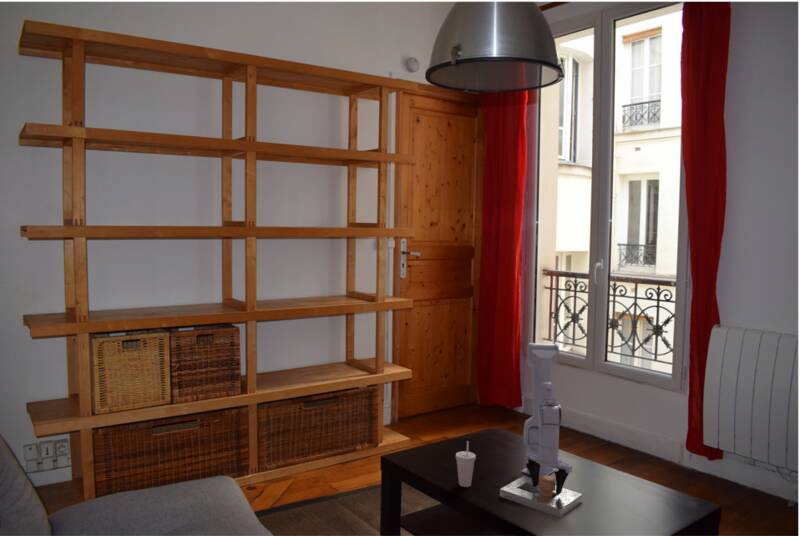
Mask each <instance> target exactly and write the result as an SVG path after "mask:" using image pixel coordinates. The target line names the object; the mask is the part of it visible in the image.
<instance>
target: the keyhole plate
mask: <svg viewBox="0 0 800 536" xmlns="http://www.w3.org/2000/svg"><path fill="white" fill-rule="evenodd" d="M499 497H500V498H502V499H506V500H508V501H512V502H515V503H517V504H520V505H522V506H525V507H529V508H531V509H534V510H538V511H539V512H543V513H545V514H549V515H552V516H555V517H558V518H561V517H563V516H565V515H567V513H569V512H570V511H572V510H573V509H574V508H576V507H577V506H578V505H580V504H581V503H583V493H580V492H578V491H574V490H571V489H567V488H564V487H563V488H562V492H561V493H560V494H559V495H558V494H556V485H555V491H552V498H549V497H546V496H543V495H542V490H540V489H539V484H538V486H536V487H533V483H532V478H531V476H530V477H528V476H526V475H523V476H521V477H518V478H517V479H515V480H514V481H512V482H510V483H508V484H506V485H505V486H503V487H501V488H499Z"/></svg>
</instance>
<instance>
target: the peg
mask: <svg viewBox="0 0 800 536" xmlns="http://www.w3.org/2000/svg"><path fill="white" fill-rule="evenodd" d="M555 486H556V477H555V476H551V475H548V476H547V475H543V476H540V477H539V489H540V490H542V495H543V496H546V497H549V498H552V491H555Z"/></svg>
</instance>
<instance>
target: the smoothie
mask: <svg viewBox="0 0 800 536" xmlns="http://www.w3.org/2000/svg"><path fill="white" fill-rule="evenodd" d="M469 443H470V442H469V441H468V440H467V441H466V450H465V451H463V450H462V451H458V452H456V453H455V459H456V467H457V477H458V478H457V479H458V485H459V486H460V487H464V488H469V487H471V485H472V480H473V479H472V478H473V473H474V467H475V460H476V459H477V457H476V454H475V453H474V452H471V451H469V450H470V449H469V445H470V444H469Z"/></svg>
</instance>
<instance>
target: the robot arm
mask: <svg viewBox="0 0 800 536" xmlns="http://www.w3.org/2000/svg"><path fill="white" fill-rule="evenodd" d="M559 357H560V349H559V345H558V344H557V343H556V342H555V343H546V342H544V343H543V342H542V343H540V342H539V343H537V342H528V343H527V345H526V363H527V366H528V367H530V368H532V372H533V389H532V393H533V397H532V400H533V402H532V416H530V417H529V418H528V419H526V420H525V422H524V424H523V425H524V426H523V443H524V444H525V446H527V453H526V454H524V455H525V456H524V460H525V461H526V463H525V464H526V465H525V467H526V468H524V469H522V470H521V473H524V474H527V475H529V476H530V478H532V483H533V487H536V486H538V484H539V477H540V476H543V475H547V476H550V475H551V474H553V473H554V478H555V479H556V482H555V486H556V494H558V495H559V494H560V493H561V492H562V488H564V484H565V482H566V480H567V478H568V476H569V474H570V473H572V471H573V465H572V464H570V463H568V462H565V461H563V460H560V459H559V448H560V447H559V444H560V443H559V440H560V426H561V425H562V422H563V421H562V420H563V411H562V407H561V403H560V402H559V396H558V388H557V386H556V385H554V383H553V368H554V367H555V366H556V365H557V364H558V361H559Z"/></svg>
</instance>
